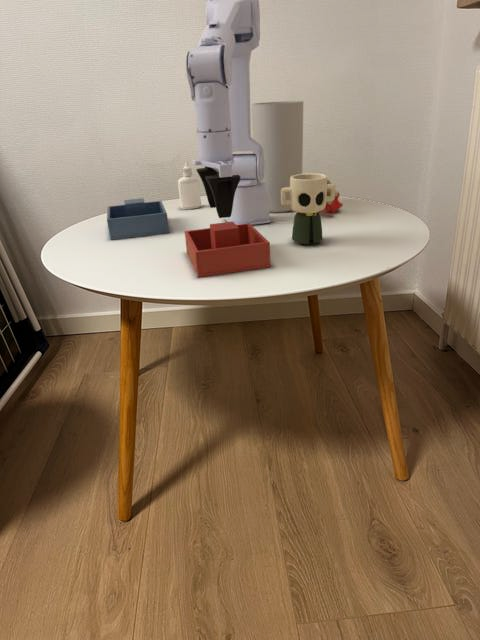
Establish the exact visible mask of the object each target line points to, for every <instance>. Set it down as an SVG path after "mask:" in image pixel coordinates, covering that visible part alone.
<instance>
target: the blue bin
mask: <svg viewBox="0 0 480 640" xmlns="http://www.w3.org/2000/svg"><path fill="white" fill-rule="evenodd" d="M144 202H145V208H146V215H140V216H131V217H127V215H126V209H125V204H117V205H109V206H107V209H106V210H107V211H106V223H107V228H108V233H109V239H110V240H111V241H114V240H115V241H116V240H121V239H130V238H131V239H132V238H137V237H138V238H139V237H148V236H154V235H155V236H156V235H162V234H163V235H164V234H170V227H169V226H170V225H169V220H168V212H167V211H166V209H165V206H164V203H163V201H162V200H155V201H144Z"/></svg>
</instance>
